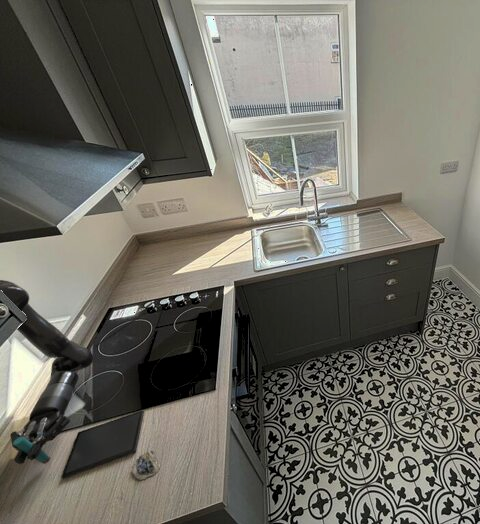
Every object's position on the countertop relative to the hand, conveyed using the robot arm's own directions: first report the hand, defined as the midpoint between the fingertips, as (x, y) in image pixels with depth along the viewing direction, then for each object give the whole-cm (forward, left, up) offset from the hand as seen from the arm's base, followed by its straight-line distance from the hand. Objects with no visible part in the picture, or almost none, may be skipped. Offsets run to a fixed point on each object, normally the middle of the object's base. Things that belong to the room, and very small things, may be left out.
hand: (25, 460), depth 77 cm
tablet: (+14, +3, -9) cm, 17 cm away
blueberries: (+27, -9, -9) cm, 30 cm away
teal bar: (0, +3, -7) cm, 8 cm away
